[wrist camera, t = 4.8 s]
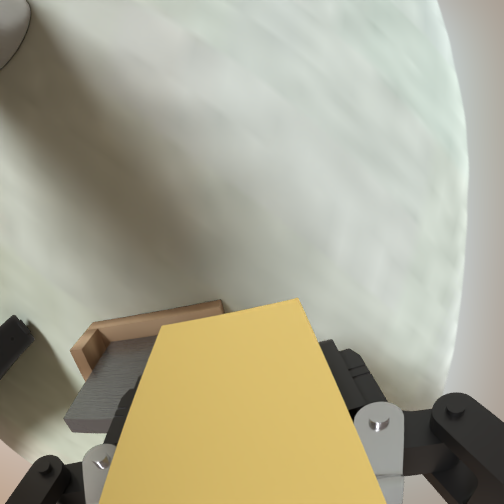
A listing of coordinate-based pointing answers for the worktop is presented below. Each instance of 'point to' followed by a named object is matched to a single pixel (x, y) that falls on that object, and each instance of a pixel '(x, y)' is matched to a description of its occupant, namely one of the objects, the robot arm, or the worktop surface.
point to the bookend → (109, 384)
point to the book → (240, 419)
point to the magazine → (13, 342)
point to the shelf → (133, 331)
